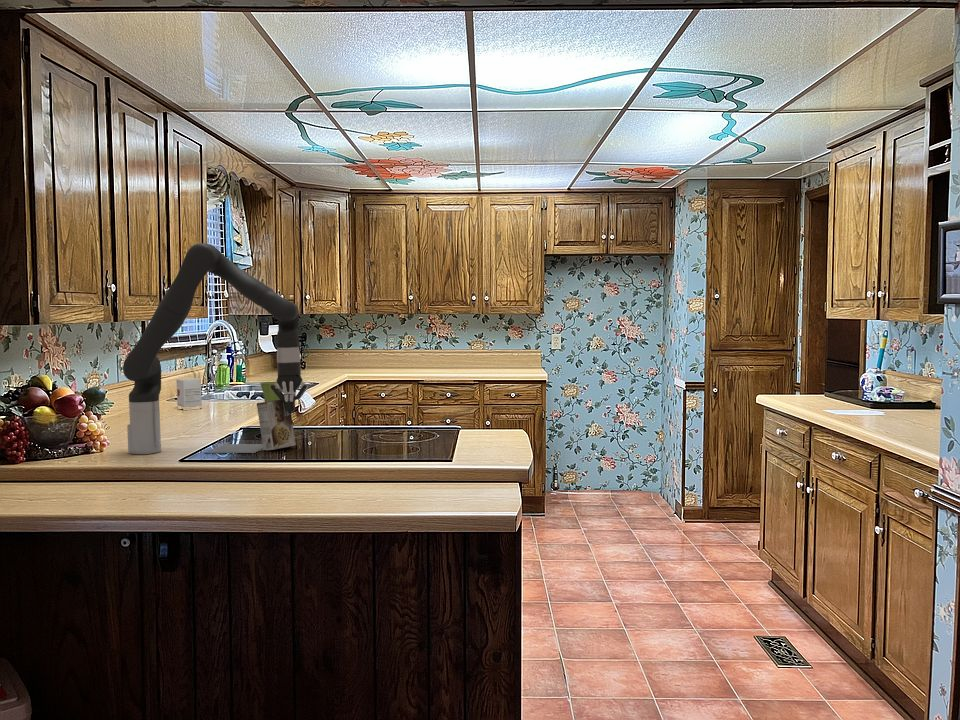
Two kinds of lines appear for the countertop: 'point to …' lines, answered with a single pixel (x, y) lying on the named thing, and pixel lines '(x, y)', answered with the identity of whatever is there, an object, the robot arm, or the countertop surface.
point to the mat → (237, 448)
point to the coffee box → (275, 425)
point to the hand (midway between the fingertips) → (290, 412)
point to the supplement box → (189, 392)
